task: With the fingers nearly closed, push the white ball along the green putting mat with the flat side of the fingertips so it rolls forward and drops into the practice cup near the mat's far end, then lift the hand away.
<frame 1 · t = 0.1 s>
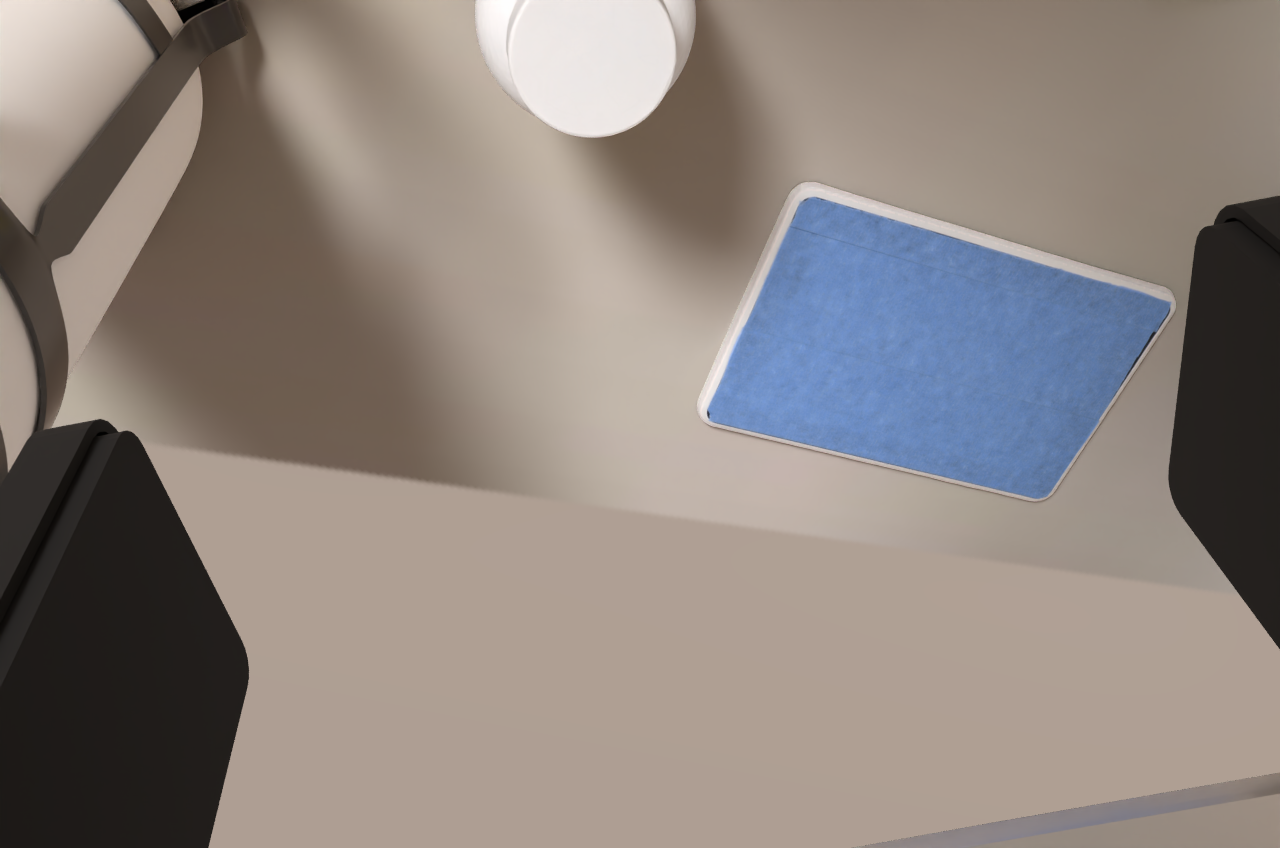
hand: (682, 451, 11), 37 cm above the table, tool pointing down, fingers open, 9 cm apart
coffee press: (51, 14, 43), on the table
tablet computer: (928, 347, 55), on the table
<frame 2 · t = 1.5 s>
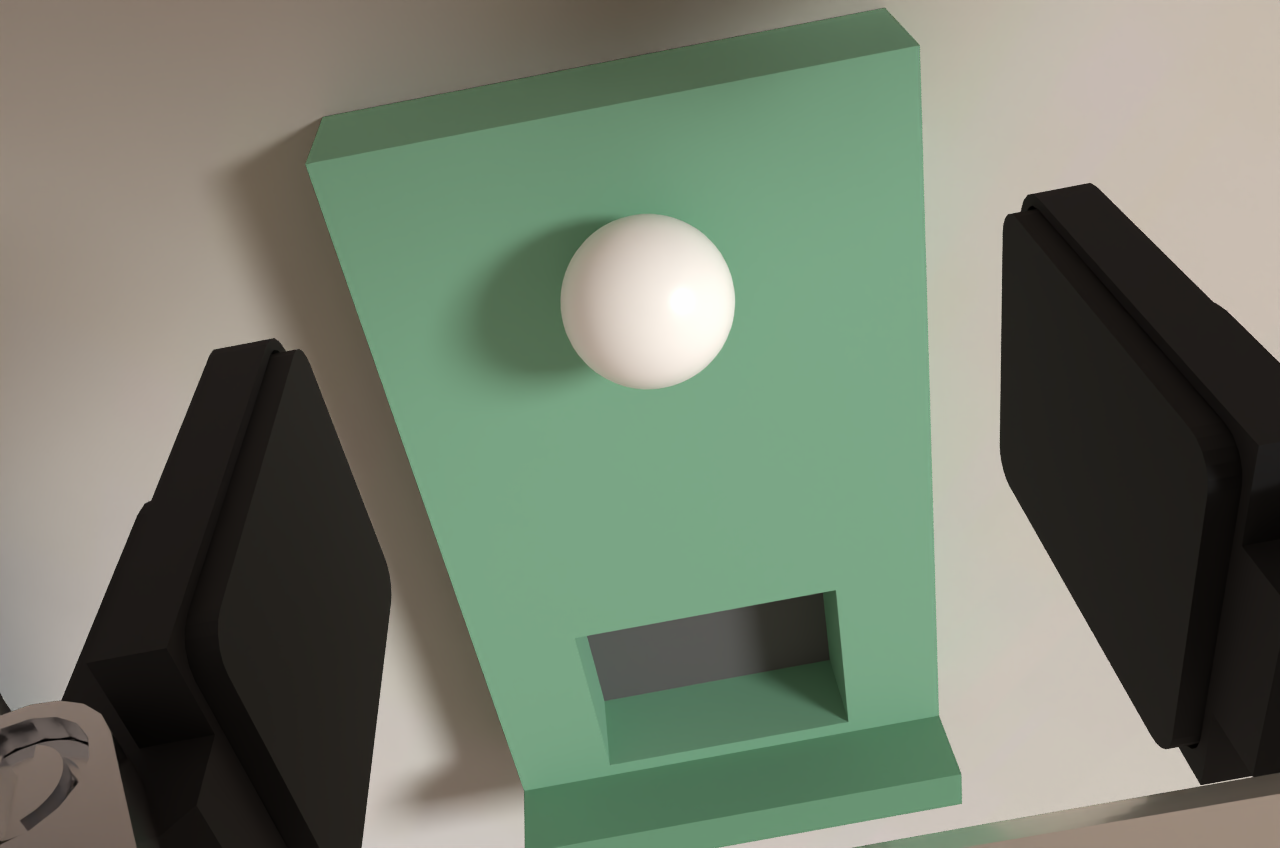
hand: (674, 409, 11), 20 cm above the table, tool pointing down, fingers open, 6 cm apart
green: (674, 450, 36), on the table
ball: (639, 262, 29), point 3 cm above the table, touching green
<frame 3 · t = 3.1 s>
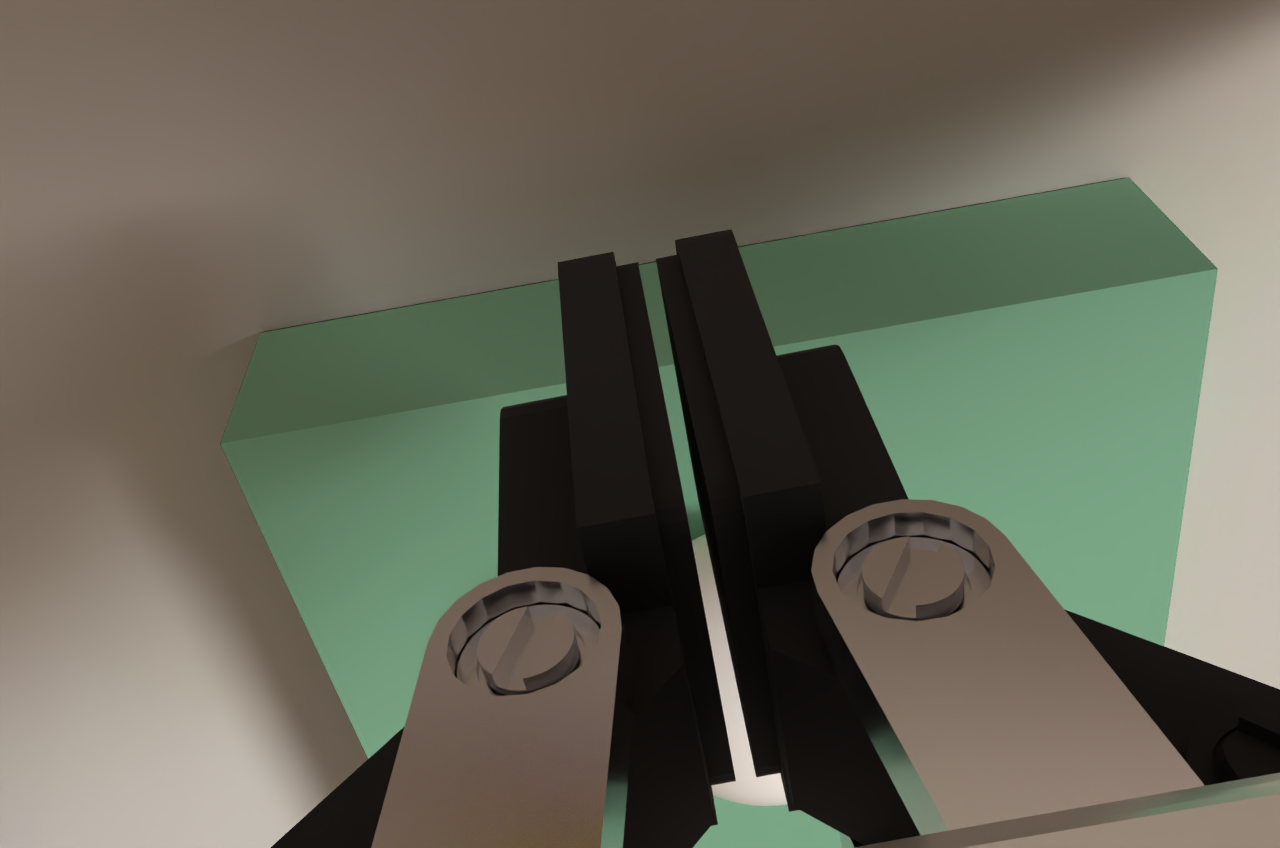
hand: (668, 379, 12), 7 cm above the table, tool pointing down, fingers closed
green: (763, 738, 26), on the table
ball: (742, 566, 19), point 3 cm above the table, touching green
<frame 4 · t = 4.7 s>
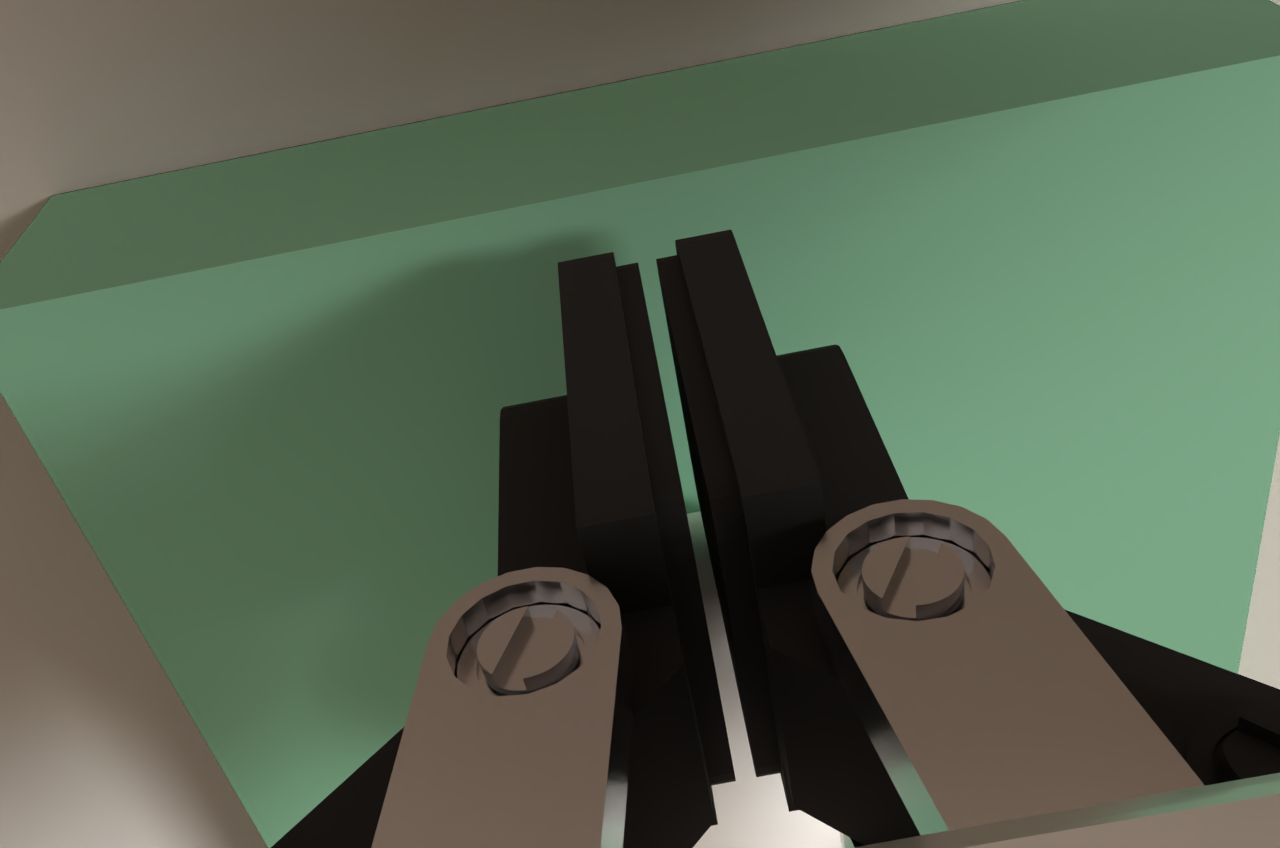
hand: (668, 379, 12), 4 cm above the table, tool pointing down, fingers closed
green: (741, 735, 21), on the table
ball: (703, 519, 14), point 3 cm above the table, tilted 31°, touching green
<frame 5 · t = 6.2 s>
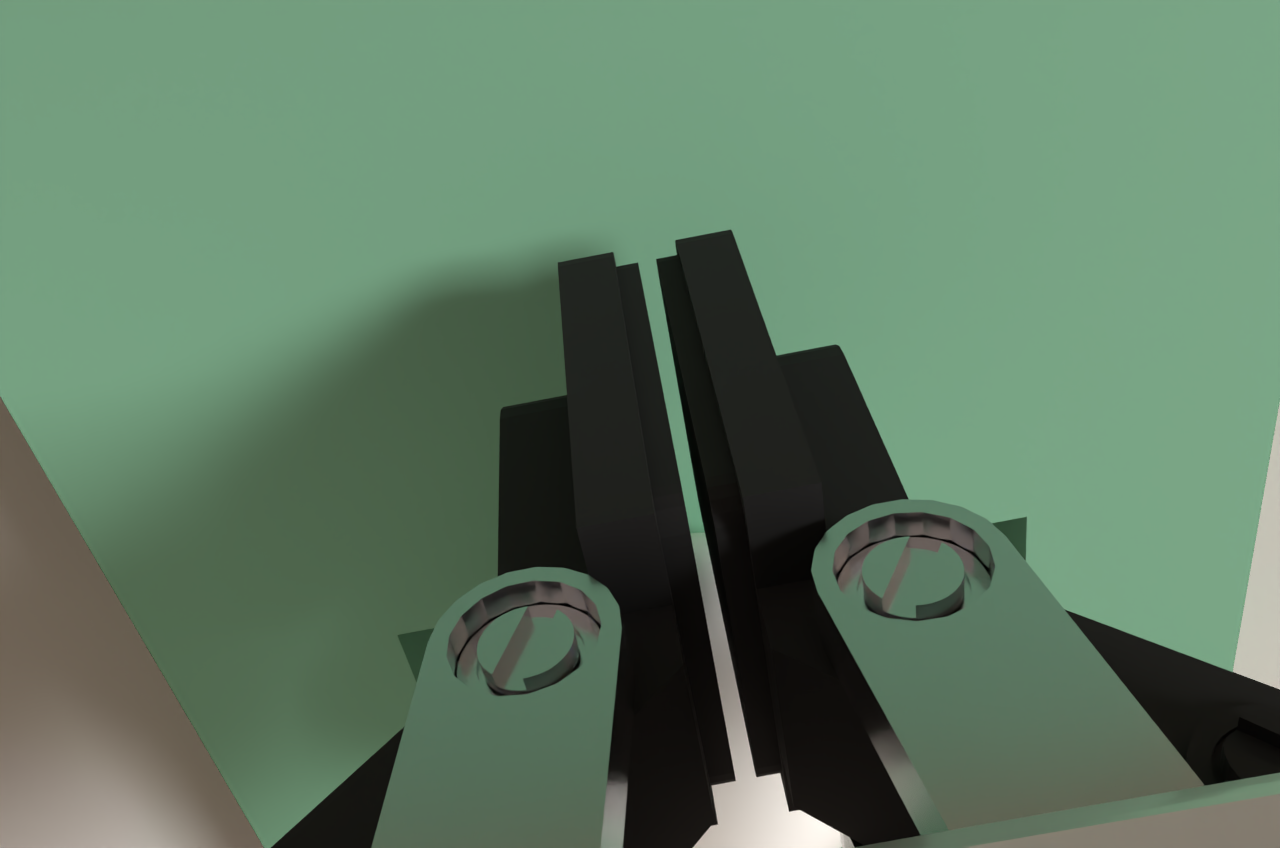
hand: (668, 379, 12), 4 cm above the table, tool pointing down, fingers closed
green: (635, 185, 15), on the table
ball: (694, 623, 15), point 3 cm above the table, tilted 15°, touching green
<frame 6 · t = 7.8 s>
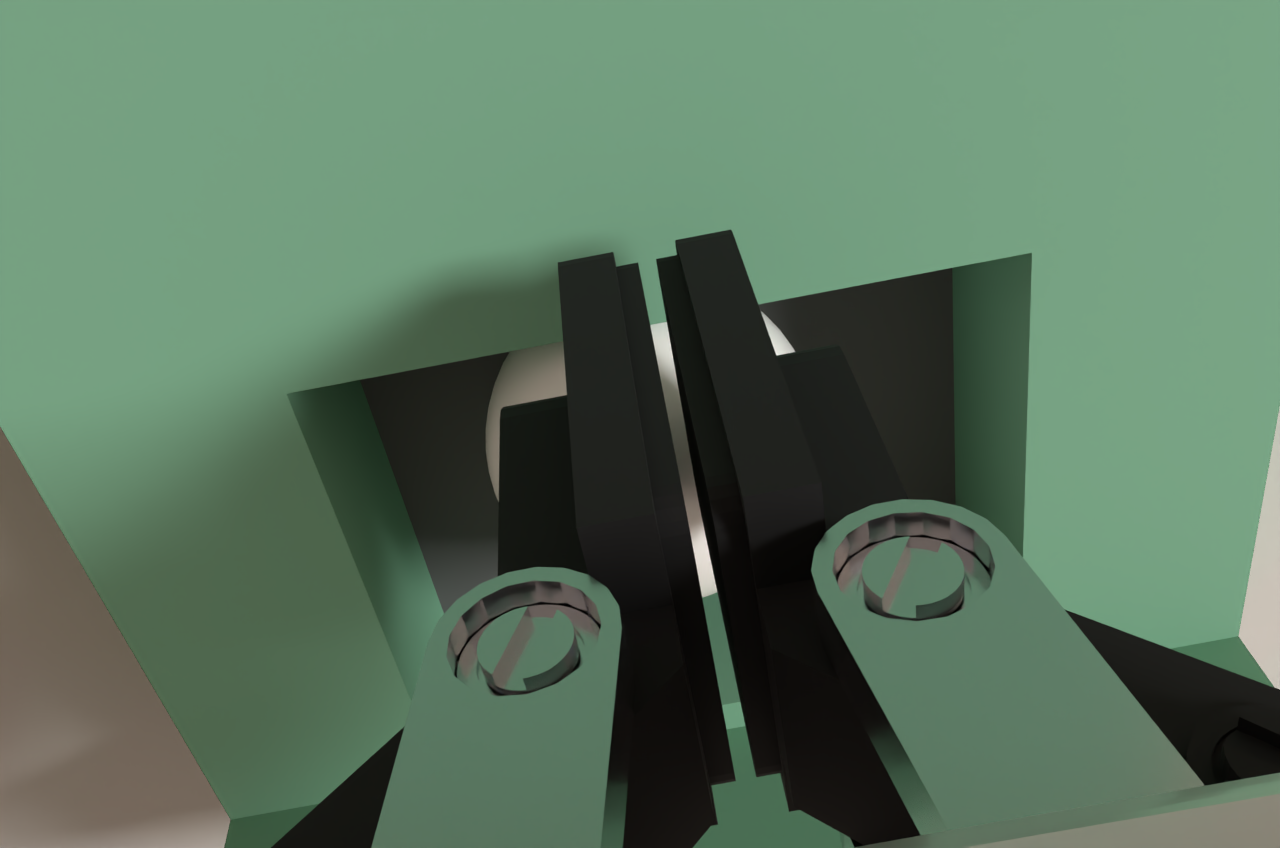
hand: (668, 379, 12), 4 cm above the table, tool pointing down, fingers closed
ball: (621, 274, 14), point 1 cm above the table, tilted 66°, touching green, gripper
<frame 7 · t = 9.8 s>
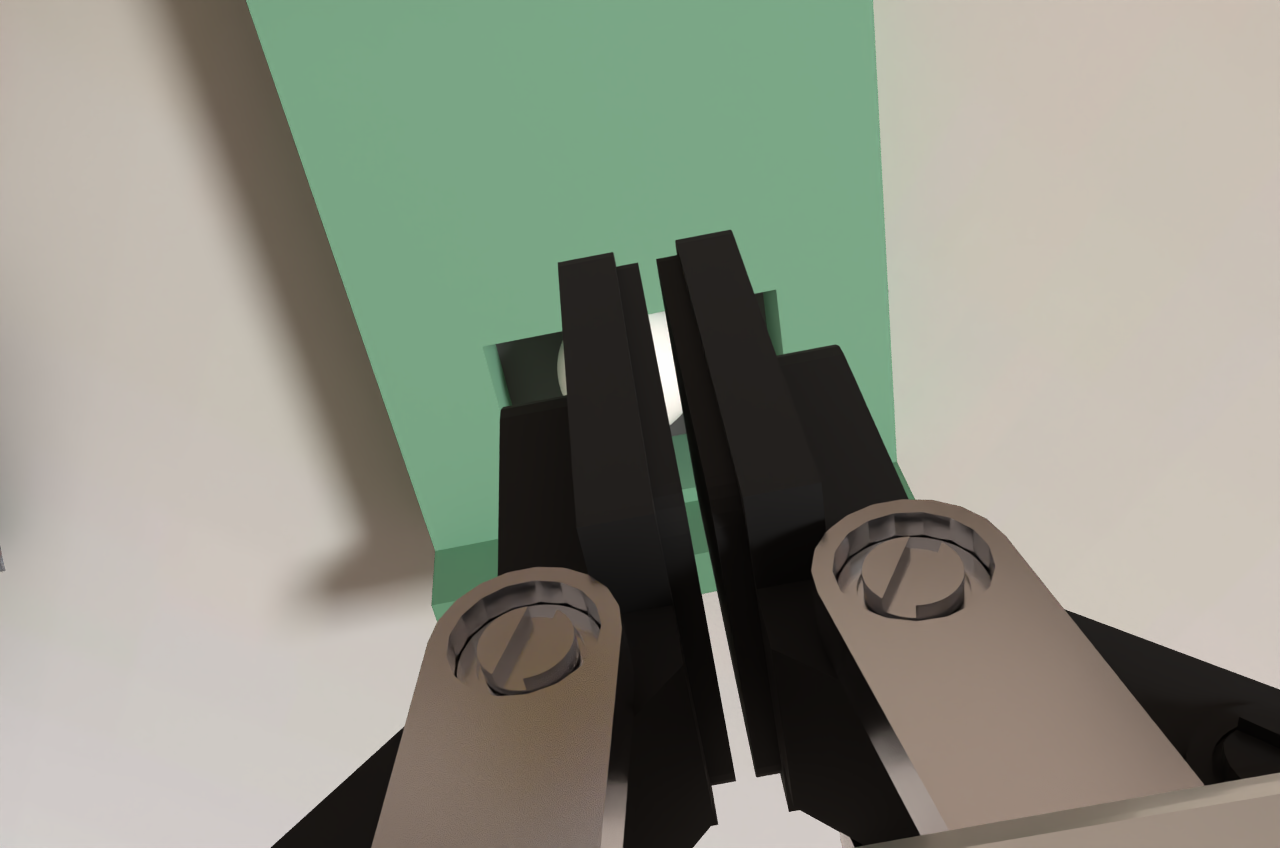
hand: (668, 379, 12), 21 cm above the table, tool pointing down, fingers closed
green: (593, 136, 32), on the table
ball: (614, 297, 33), point 1 cm above the table, tilted 66°, touching green
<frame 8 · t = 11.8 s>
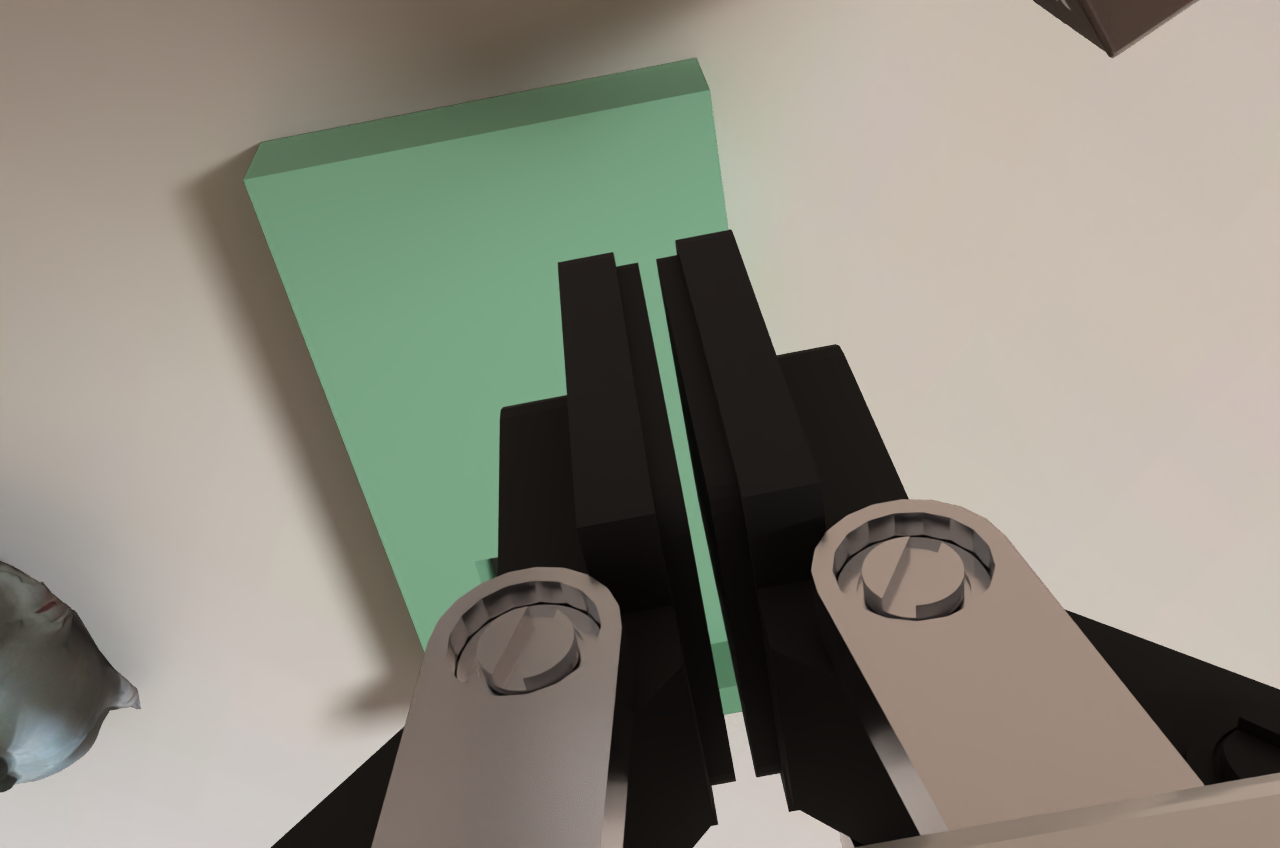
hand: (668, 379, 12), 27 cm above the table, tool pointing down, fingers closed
green: (555, 409, 44), on the table
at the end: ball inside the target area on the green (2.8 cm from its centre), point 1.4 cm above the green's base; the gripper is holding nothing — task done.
